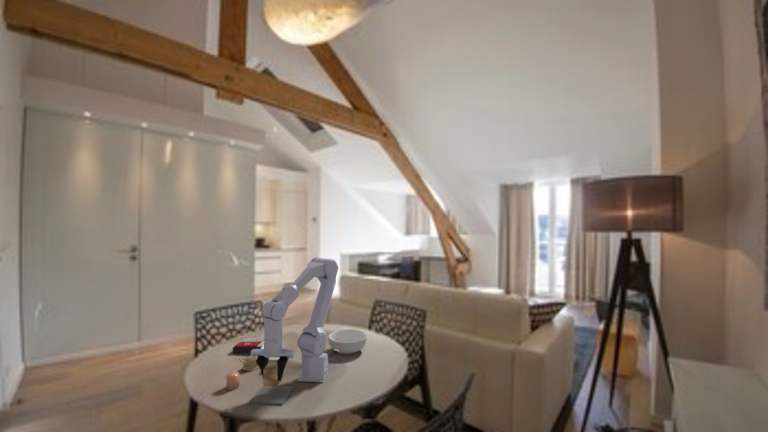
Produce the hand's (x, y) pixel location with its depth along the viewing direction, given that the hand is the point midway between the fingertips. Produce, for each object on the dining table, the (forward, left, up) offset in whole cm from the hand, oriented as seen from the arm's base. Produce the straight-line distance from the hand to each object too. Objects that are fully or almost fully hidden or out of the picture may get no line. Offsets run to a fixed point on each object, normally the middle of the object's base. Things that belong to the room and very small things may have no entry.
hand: (272, 378), depth 114 cm
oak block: (0, 0, -1) cm, 1 cm away
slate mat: (0, 0, -6) cm, 6 cm away
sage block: (+7, -20, -6) cm, 22 cm away
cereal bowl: (-18, -40, -6) cm, 44 cm away
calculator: (+24, -38, -6) cm, 45 cm away
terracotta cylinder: (+16, -4, -6) cm, 17 cm away
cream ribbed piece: (+17, -19, -6) cm, 26 cm away
